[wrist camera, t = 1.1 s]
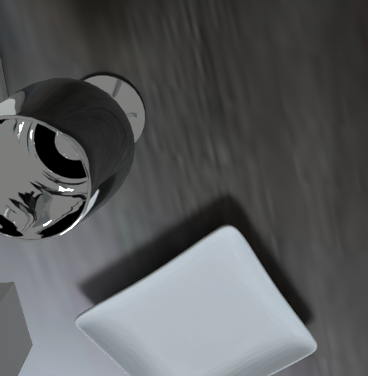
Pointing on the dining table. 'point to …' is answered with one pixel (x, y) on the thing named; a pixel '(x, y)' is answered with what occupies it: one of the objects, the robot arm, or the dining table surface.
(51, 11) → the dining table surface
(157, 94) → the dining table surface
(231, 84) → the dining table surface
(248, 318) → the salad plate
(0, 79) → the button panel
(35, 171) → the wineglass
